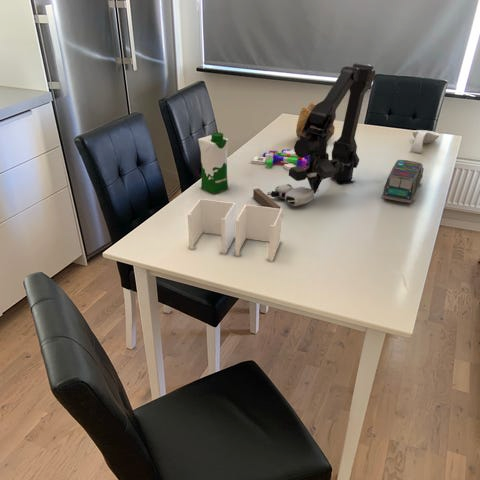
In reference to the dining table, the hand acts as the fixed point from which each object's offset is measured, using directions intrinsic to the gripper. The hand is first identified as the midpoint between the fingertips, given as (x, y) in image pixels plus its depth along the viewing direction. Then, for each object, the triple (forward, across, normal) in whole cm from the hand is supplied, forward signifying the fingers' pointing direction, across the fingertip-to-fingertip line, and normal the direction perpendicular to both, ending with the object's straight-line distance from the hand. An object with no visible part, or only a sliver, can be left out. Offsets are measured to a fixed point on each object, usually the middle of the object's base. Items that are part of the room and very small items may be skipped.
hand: (314, 193), depth 169 cm
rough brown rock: (+2, +33, +52) cm, 61 cm away
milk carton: (+1, -29, +21) cm, 36 cm away
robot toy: (+2, -8, +1) cm, 9 cm away
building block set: (+2, +9, +36) cm, 37 cm away
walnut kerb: (+1, -19, 0) cm, 19 cm away
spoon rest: (+3, +74, +28) cm, 80 cm away
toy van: (+3, +32, -8) cm, 34 cm away
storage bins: (+1, -40, -20) cm, 44 cm away
